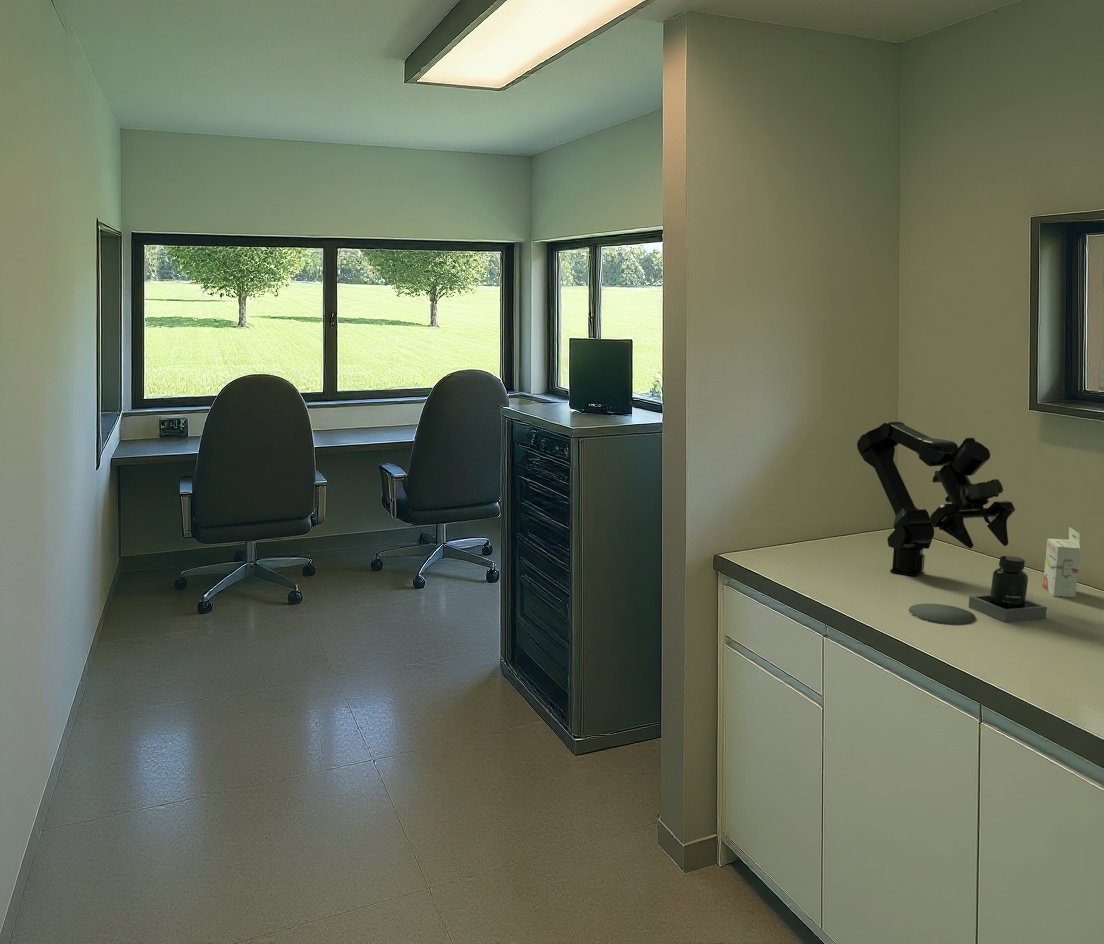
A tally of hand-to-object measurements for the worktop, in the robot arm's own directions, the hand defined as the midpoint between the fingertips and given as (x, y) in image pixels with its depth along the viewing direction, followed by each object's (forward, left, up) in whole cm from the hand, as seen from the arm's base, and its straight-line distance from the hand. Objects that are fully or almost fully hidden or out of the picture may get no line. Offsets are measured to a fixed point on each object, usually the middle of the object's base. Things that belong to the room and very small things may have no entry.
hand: (989, 546), depth 207 cm
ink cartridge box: (+12, +21, -13) cm, 28 cm away
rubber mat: (-6, -14, -13) cm, 20 cm away
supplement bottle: (+5, -4, -13) cm, 15 cm away
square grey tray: (+5, -4, -13) cm, 15 cm away
